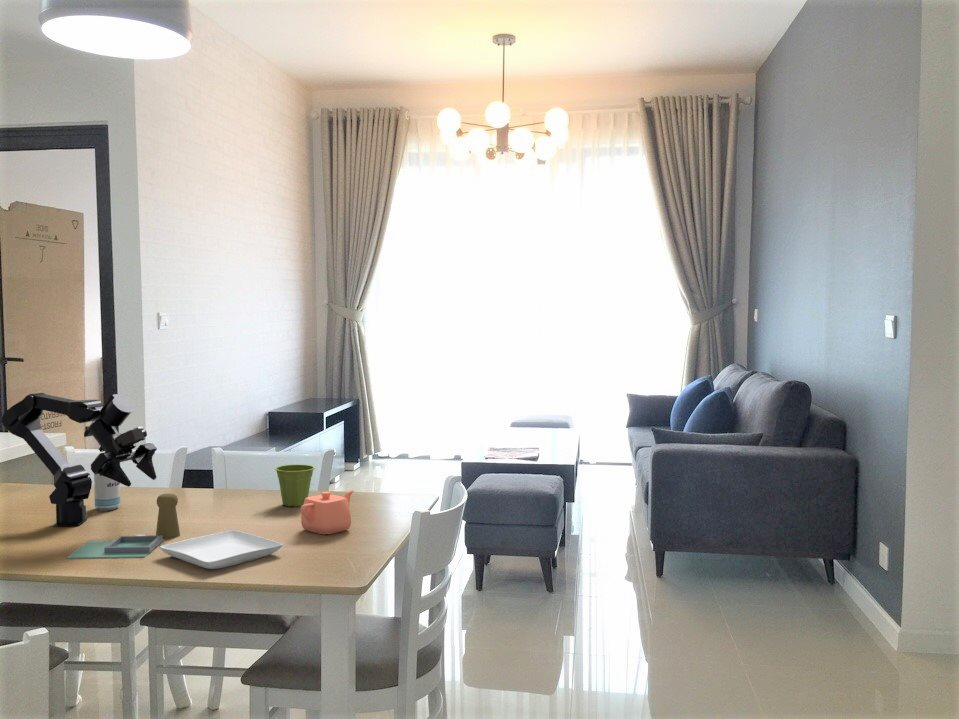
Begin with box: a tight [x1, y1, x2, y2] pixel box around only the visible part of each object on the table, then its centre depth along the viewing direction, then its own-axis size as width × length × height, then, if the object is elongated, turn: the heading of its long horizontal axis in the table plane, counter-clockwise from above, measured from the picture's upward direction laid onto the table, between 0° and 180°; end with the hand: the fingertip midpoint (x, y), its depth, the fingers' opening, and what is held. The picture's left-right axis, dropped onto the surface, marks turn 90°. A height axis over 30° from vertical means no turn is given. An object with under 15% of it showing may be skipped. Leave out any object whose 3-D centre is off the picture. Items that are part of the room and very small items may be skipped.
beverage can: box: [93, 473, 121, 512], centre depth 251 cm, size 7×7×12 cm
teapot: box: [299, 489, 355, 536], centre depth 230 cm, size 12×18×10 cm, turn 139°
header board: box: [66, 534, 164, 559], centre depth 210 cm, size 18×14×2 cm
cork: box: [155, 493, 181, 540], centre depth 223 cm, size 6×6×11 cm
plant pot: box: [274, 464, 316, 507], centre depth 258 cm, size 12×12×11 cm
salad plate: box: [159, 529, 284, 570], centre depth 205 cm, size 21×21×3 cm
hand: (142, 482), depth 225 cm, fingers open, 9 cm apart
